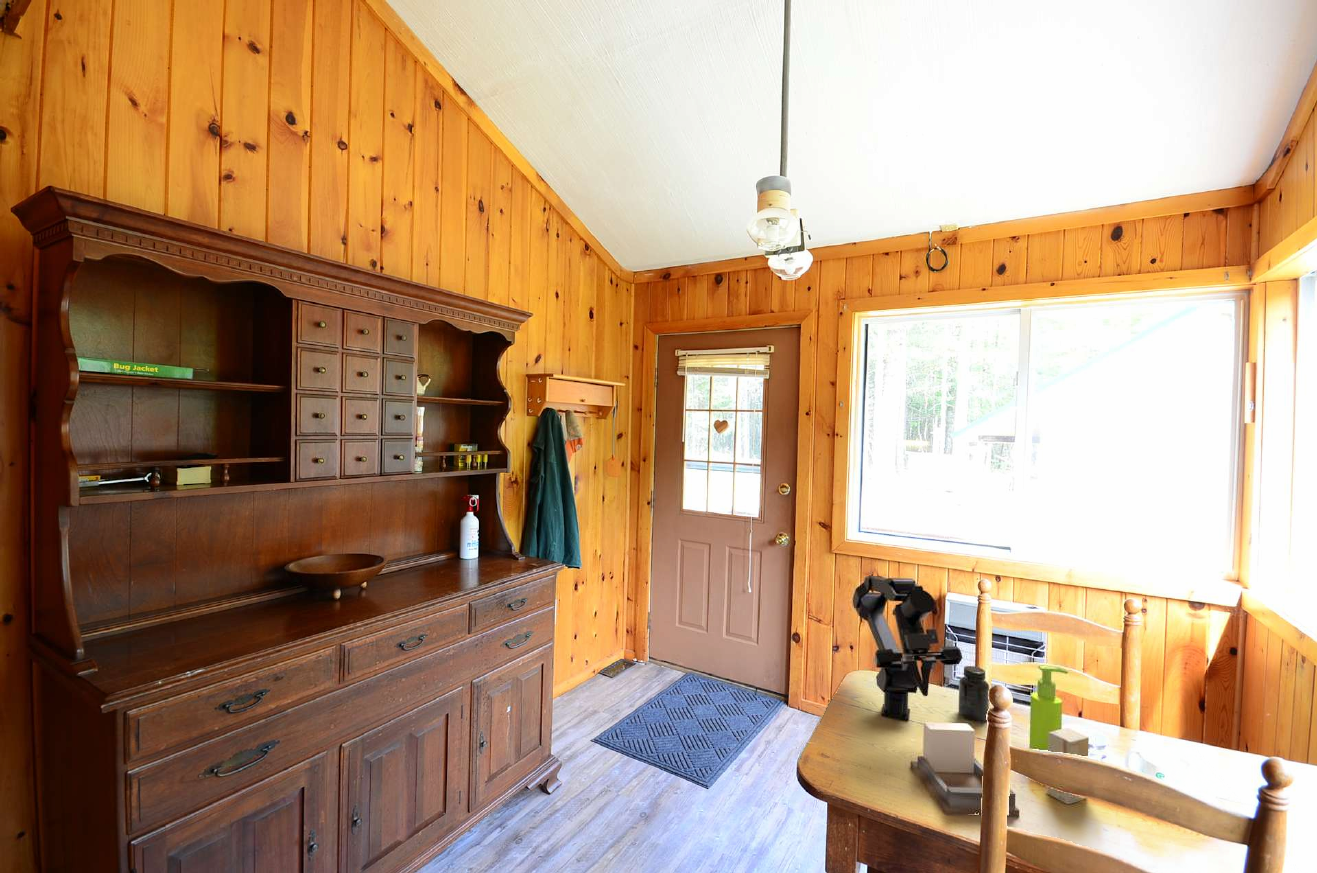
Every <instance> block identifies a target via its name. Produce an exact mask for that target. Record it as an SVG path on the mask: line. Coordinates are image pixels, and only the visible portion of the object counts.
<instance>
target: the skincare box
mask: <svg viewBox="0 0 1317 873" xmlns="http://www.w3.org/2000/svg"><path fill="white" fill-rule="evenodd" d="M1089 738H1090V737H1089V736H1087V735H1084V734H1083V733H1080V732H1078V731H1076V730H1073V729H1071V728H1069V727H1065V728H1061V730H1056V731H1052V732H1049V737H1048V751H1051V752H1063V753H1070V754H1077V755H1081V756H1088V757H1089ZM1046 793H1047V794H1048V795H1050V796H1052V797H1054V798H1055V799H1057V800H1059V801H1061V802H1062V803H1065V804H1067V805H1070V804H1074V803H1076V802H1081V801H1082V800H1083V801H1084V800H1087V798H1081V797H1079V796H1075V795H1072V794H1069V793H1064V792H1061V791H1057V790H1055V789H1051V788H1050V787H1047V786H1046Z"/></svg>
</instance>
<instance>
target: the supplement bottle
mask: <svg viewBox="0 0 1317 873" xmlns="http://www.w3.org/2000/svg"><path fill="white" fill-rule="evenodd" d="M988 691H989V692H990V684H989V683H988V682H987V681H986V670H984V669H983V668H982V667H981V668H980V667H977V666H973V665H966V666H964V667H963V676H962V677H961V678H960V679H959V681H958V714H959V715H960V716H961V717H962V718H963V719H966V720H967V719H968V721H970V722H974V723H985V722H987V721H988V720H986V714H987V711H988V709H989V710H990V698H989V699H988Z"/></svg>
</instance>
